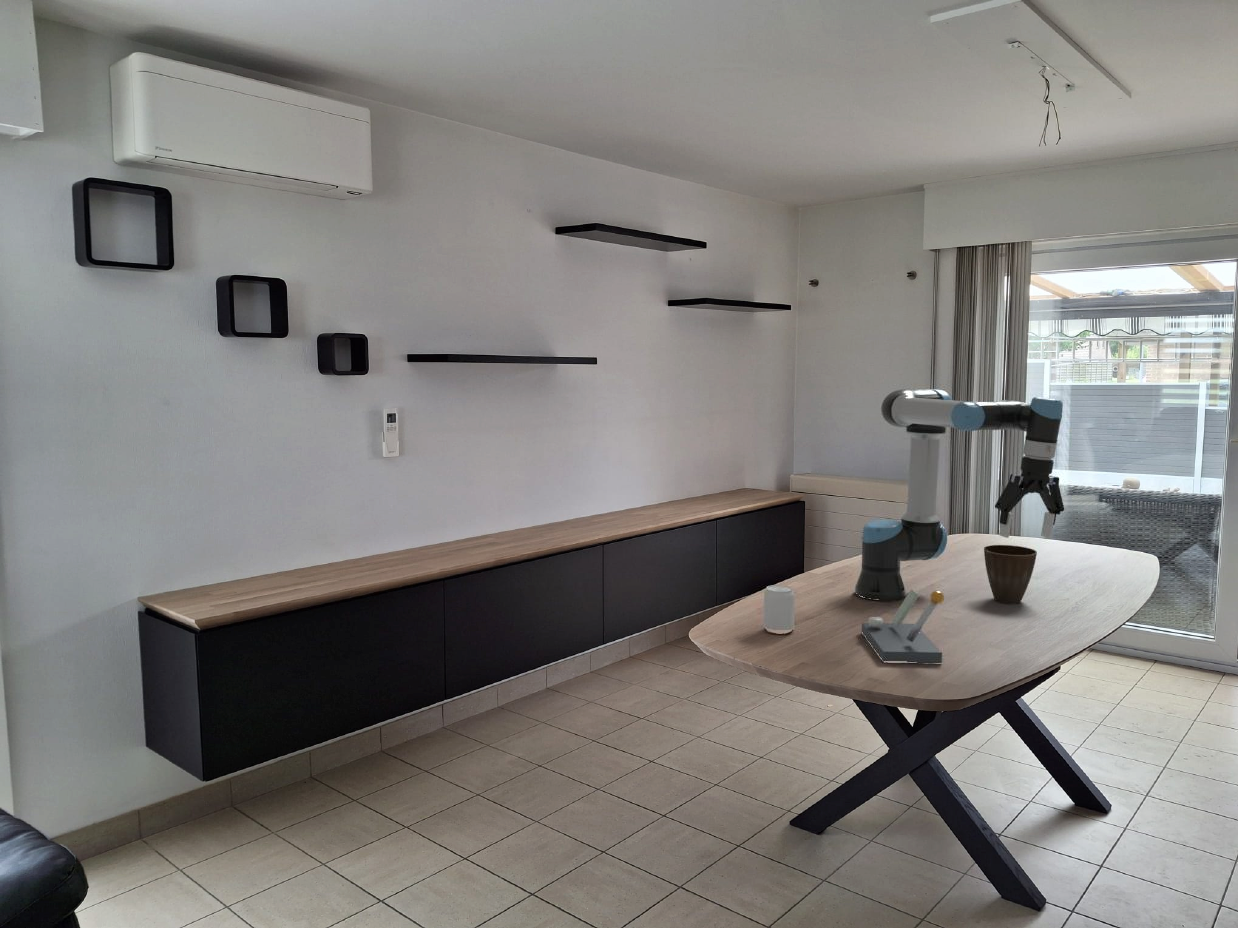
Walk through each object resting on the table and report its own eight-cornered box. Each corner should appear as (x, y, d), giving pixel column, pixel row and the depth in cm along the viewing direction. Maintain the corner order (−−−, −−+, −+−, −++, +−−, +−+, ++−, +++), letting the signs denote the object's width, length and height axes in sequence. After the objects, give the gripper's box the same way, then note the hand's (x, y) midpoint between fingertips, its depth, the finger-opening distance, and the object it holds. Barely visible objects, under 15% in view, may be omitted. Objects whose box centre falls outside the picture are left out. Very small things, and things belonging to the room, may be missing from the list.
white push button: (867, 623, 233) (867, 616, 233) (880, 623, 233) (881, 616, 232) (870, 627, 229) (870, 620, 229) (884, 627, 229) (884, 620, 229)
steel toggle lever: (902, 634, 218) (933, 587, 217) (913, 641, 218) (944, 593, 217) (905, 638, 215) (937, 590, 213) (916, 645, 215) (948, 596, 213)
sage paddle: (891, 620, 233) (911, 588, 232) (894, 622, 233) (914, 590, 232) (895, 625, 228) (916, 592, 227) (898, 627, 228) (919, 594, 227)
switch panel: (861, 633, 237) (861, 622, 236) (914, 634, 236) (914, 623, 235) (883, 663, 213) (883, 651, 212) (941, 664, 212) (942, 652, 212)
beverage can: (789, 626, 243) (790, 584, 241) (796, 635, 235) (797, 591, 233) (761, 626, 242) (761, 584, 241) (766, 635, 234) (767, 592, 233)
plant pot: (1040, 608, 261) (1042, 555, 259) (986, 605, 264) (989, 553, 262) (1027, 595, 275) (1029, 545, 274) (977, 593, 278) (979, 543, 277)
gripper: (1008, 458, 220) (995, 539, 223) (1087, 461, 227) (1073, 540, 231) (988, 453, 227) (976, 532, 230) (1065, 456, 234) (1052, 533, 238)
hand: (1024, 536), depth 230 cm, fingers open, 13 cm apart
